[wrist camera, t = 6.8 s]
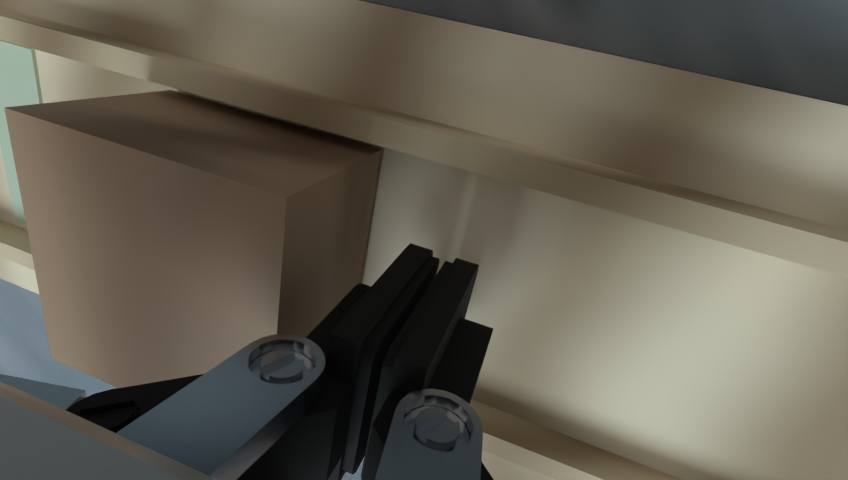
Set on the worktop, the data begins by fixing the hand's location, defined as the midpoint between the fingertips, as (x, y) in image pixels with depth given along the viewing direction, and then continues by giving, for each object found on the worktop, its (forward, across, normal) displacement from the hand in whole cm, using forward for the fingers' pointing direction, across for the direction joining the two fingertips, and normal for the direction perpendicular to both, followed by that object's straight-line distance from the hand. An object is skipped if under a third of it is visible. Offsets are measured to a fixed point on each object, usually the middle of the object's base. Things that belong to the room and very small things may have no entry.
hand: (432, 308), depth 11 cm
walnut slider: (+1, +5, 0) cm, 5 cm away
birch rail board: (+3, +3, 0) cm, 4 cm away
